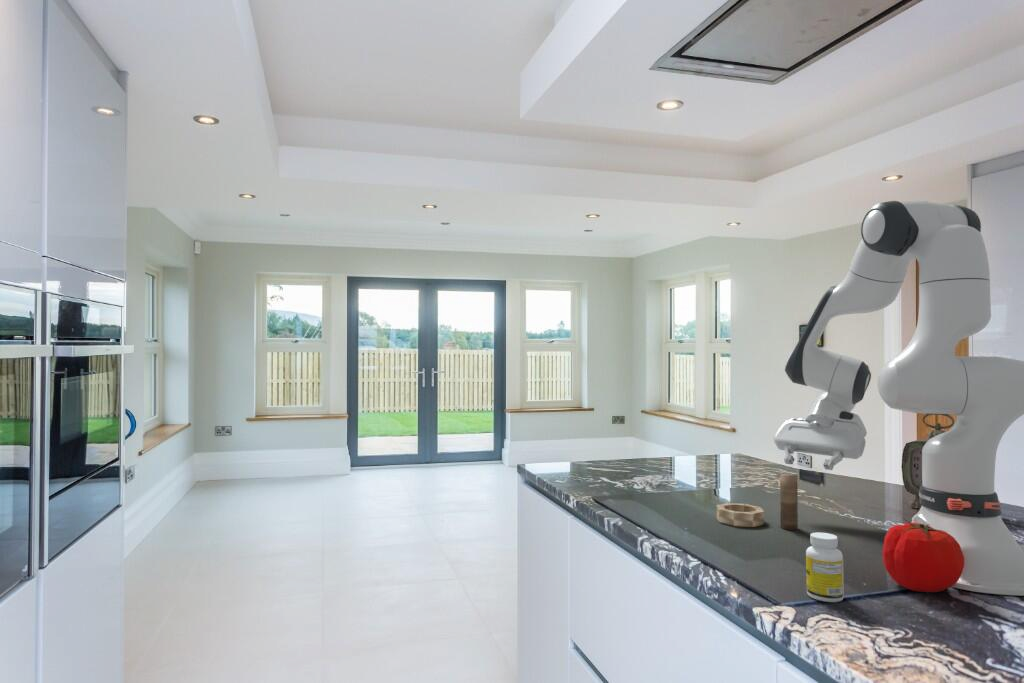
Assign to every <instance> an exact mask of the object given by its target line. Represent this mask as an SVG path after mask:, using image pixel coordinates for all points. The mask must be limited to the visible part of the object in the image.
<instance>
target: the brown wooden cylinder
mask: <svg viewBox="0 0 1024 683" xmlns="http://www.w3.org/2000/svg"><path fill="white" fill-rule="evenodd" d="M779 475H780V476H779V478H780V480H779V483H780V484H779V485H780V486H779V489H780V490H779V491H780V494H779V497H780V498H779V503H780V507H779V508H780V512H779V513H780V520H779V522H780V525H779V526H780V529H783V530H787V531H797V530H798V529H799V524H798V523H799V518H798V516H799V514H798V512H799V510H798V509H799V508H798V507H799V505H798V503H799V502H798V501H799V500H798V499H799V498H798V497H799V496H798V490H799V489H798V483H799V482H798V480H799V479H798V475H797V474H795V473H786V472H785V473H780V474H779Z"/></svg>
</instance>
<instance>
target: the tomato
mask: <svg viewBox="0 0 1024 683" xmlns="http://www.w3.org/2000/svg"><path fill="white" fill-rule="evenodd" d="M902 519H903V520H904V521H906V522H907V523H904V524H898V525H896V524H895V525H893V526H891V527H890V528H889V530H887V533H885V536H884V541H883V546H882V554H881V555H882V564H883V566H884V568H885V570H886V572H887V573H888V574H889V575H888V576H890V578H891V579H892V580H893V581H894V582H895V583H896V584H897V585H900V586H901V587H903V588H905V589H908V590H910V591H913V592H919V593H920V592H922V593H937V592H938V593H939V592H942V591H945V590H947V589H949V588H952V587H951V586H953V585H954V584H956V582H957V581H958V580H959V578H960V576H961V574H962V571H963V568H964V556H963V553H962V550H961V548H960V545H959V543H958V542H957V541H956V540H955V538H954V537H953V536H951V535H950V534H948V533H947V532H944V531H942V530H936V529H934V528H932V527H929V526H928V525H929V524H928V525H924V524H919V523H915V522H914V523H912V522H910V521H908V520H906V518H903V517H902Z"/></svg>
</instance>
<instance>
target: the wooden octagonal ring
mask: <svg viewBox="0 0 1024 683" xmlns="http://www.w3.org/2000/svg"><path fill="white" fill-rule="evenodd" d="M716 520H718V523H722V524H725V525H729V526H733V527H745V528H746V527H747V528H754V527H760V526H762V525H763V526H764V525H765V510H764V509H763V508H762V507H760V506H756V505H752V504H748V503H737V502H735V503H734V502H733V503H732V502H726V503H721V504H716Z"/></svg>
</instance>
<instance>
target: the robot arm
mask: <svg viewBox="0 0 1024 683" xmlns="http://www.w3.org/2000/svg"><path fill="white" fill-rule="evenodd" d="M860 228H861V229H860V231H861V232H860V233H861V235H860V236H861V238H862V239H861V240H860V241H859V244H858V246H857V248H856V249H855V250H856V251H855V253H854V254H853V257H852V259H851V263H850V265H849V269H848V272H847V273H846V276H845V277H844V279H842V281H841V282H840V283H839V284H837V285H833V286H830V287H829V288H828V289H827V290H826V291H825V292H824V294H823V295H822V297H821V298H820V300H819V302H818V304H817V306H816V308H815V309H814V311H813V313H812V315H811V317H810V318H809V319H808V320H809V321H808V323H807V324H806V327H805V328H804V330H803V331H802V334H801V336H800V338H799V339H798V342H797V344H796V345H795V347H793V349H792V350H791V351H790V353H789V355H788V356H787V359H786V361H785V365H784V366H785V367H784V371H785V374H786V375H787V377H788V379H789V380H790V381H791V382H792V383H793V384H797V385H801V386H805V387H811V388H814V389H816V390H818V392H817V396H816V397H817V398H816V399H815V401H813V403H812V404H811V407H810V408H809V411H808V414H807V416H806V417H805V418H793V417H791V418H789V419H786V420H784V421H783V422H782V424H781V426H780V427H779V428H778V430H776V433H775V434H774V436H773V442H774V444H775V445H776V447H777V449H778V450H781V451H784V452H785V456H784V458H783V459H784V460H783V461H784V463H785V464H786V465H793V464H794V462H795V458H794V456H793V454H794V453H796V452H797V453H805V454H811V455H812V454H813V455H818V456H819V455H820V456H828V457H829V456H830V457H831V458H829V459H824V462H823V465H822V466H823V468H824V469H825V470H827V471H833V469H834V466H836V465H837V464H838V463H840V462H841V461H843V459H852V460H857V459H859V458H861V457H862V455H863V454H864V451H865V447H866V438H865V437H866V436H867V433H868V432H867V429H866V426H865V425H864V424H865V423H864V422H863V420H862V419H861V417H860V416H859V414H856V413H853V412H852V411H853V409H855V407H856V404H858V403H859V402H861V401H863V399H864V396H865V393H866V392H867V389H868V387H869V385H870V382H871V378H872V373H871V370H870V369H869V367H868V365H867V364H866V363H865V361H862V360H861V359H857V358H853V357H850V356H848V355H842V354H840V353H835V352H833V351H829V350H825V349H823V348H821V347H819V345H818V342H819V341H820V339H821V337H822V335H823V334H824V331H825V330H826V328H827V327H828V324H829V322H830V321H831V320H832V319H834V318H836V317H839V316H843V315H853V314H854V315H857V314H868V313H874V312H878V311H880V310H883V309H885V308H887V307H888V306H891V304H892V303H894V302H895V300H896V298H897V297H898V295H899V293H900V290H901V288H902V286H903V283H904V281H905V277H906V275H907V271H908V268H909V266H910V263H911V261H912V260H913V259H914V258H915V259H916V261H917V263H918V268H919V270H918V271H919V273H918V315H917V324H916V328H915V330H914V333H913V335H912V337H911V340H910V341H909V343H908V344H907V345H906V346H905V347H904V348H903V350H902V351H901V352H900V353H899V354H897V355H896V356H895V357H893V358H892V359H890V360H889V361H888V362H886V363H885V364H884V365H883V366H882V368H881V370H880V372H879V373H878V374H879V375H878V377H877V389H878V390H877V391H878V392H879V395H880V397H881V399H882V400H883V402H884V404H886V405H887V406H888V407H889V408H891V409H893V410H898V411H903V412H908V413H913V414H923V415H926V414H948V415H956V420H955V421H954V425H953V426H951V427H950V428H949V430H947V431H946V432H944V433H942V434H939V435H937V436H935V437H933V438H931V439H930V438H929V439H930V440H928V441H927V442H926V444H925V445H924V447H923V449H922V485H921V486H920V491H919V496H920V498H919V504H920V505H921V507H920V509H919V510H918V512H917V513H916V514H914V516H913V517H912V518H911V523H914V522H915V523H919V524H924V525H928V524H929V525H928V526H929V527H932V528H934V529H936V530H942V531H944V532H947V533H948V534H950V535H951V536H953V537H954V538H955V540H956V541H957V542H958V543H959V545H960V548H961V550H962V553H963V556H964V568H963V571H962V574H961V576H960V578H959V580H958V581H957V582H956V584H954V585H953V586H951V587H950V588H955V589H958V590H959V589H960V590H965V591H970V592H976V593H982V594H993V595H1004V596H1006V595H1007V596H1024V544H1019V543H1018V542H1017V540H1016V538H1015V537H1014V534H1013V533H1012V532H1011V531H1010V529H1009V528H1008V527H1007V525H1006V524H1005V522H1004V520H1003V519H1002V517H1001V515H1002V510H1001V509H1002V507H1001V505H1002V503H1001V502H1000V500H999V497H998V493H997V492H996V491H995V473H996V472H995V471H996V459H997V451H998V447H999V445H1000V442H1001V440H1002V438H1003V436H1004V434H1005V433H1006V432H1007V430H1008V429H1009V428H1010V426H1011V425H1012V424H1014V422H1016V421H1017V420H1018V419H1019V418H1021V417H1022V416H1023V415H1024V360H1019V359H1015V358H1008V357H1002V356H983V355H982V356H978V355H977V356H970V355H969V356H965V355H964V356H963V355H961V356H957V355H956V347H957V345H958V343H959V342H960V341H962V340H964V339H966V338H968V337H971V336H973V335H975V334H977V333H979V332H981V331H983V330H984V329H985V328H986V327H987V325H989V322H990V320H991V317H992V309H991V307H992V306H991V282H990V281H991V276H990V264H989V259H988V254H987V253H988V252H987V249H986V246H985V240H984V237H983V235H982V233H981V232H982V229H981V228H982V224H981V219H980V217H979V215H978V213H976V211H974V210H973V209H971V208H968V207H966V206H962V205H958V204H944V203H936V202H929V201H926V200H925V201H923V200H915V201H913V200H910V201H909V200H908V201H907V200H906V201H897V200H891V201H884V202H880V203H876V204H875V205H873V206H871V207H870V208H869V209H868V211H867V212H866V214H865V215H864V218H863V219H862V223H861V226H860Z"/></svg>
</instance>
